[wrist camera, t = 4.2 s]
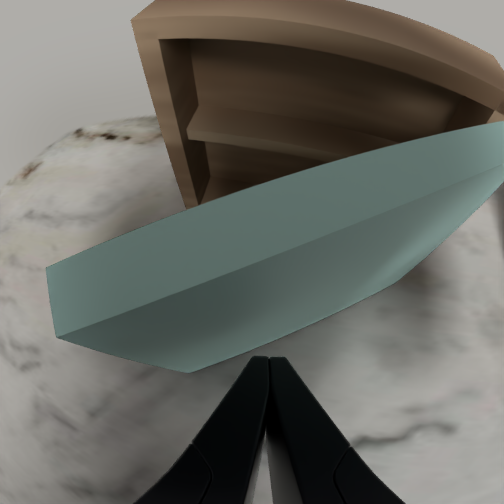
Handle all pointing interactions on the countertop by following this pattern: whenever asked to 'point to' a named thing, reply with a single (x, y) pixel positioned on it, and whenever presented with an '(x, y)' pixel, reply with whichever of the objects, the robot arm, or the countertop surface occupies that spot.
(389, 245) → the door
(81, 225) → the countertop surface
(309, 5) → the cabinet
